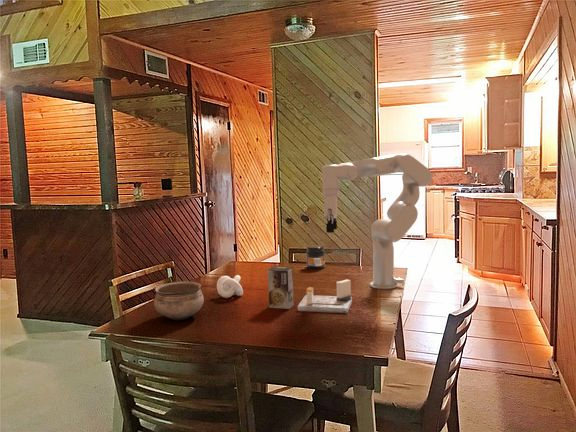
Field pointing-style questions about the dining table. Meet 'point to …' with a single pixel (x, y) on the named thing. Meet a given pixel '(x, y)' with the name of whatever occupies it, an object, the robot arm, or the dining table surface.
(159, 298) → the cooking pot
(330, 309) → the console
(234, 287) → the white rounded piece
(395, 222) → the robot arm
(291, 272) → the coffee box
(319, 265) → the supplement container
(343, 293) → the dial
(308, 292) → the fader tab
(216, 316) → the dining table surface
